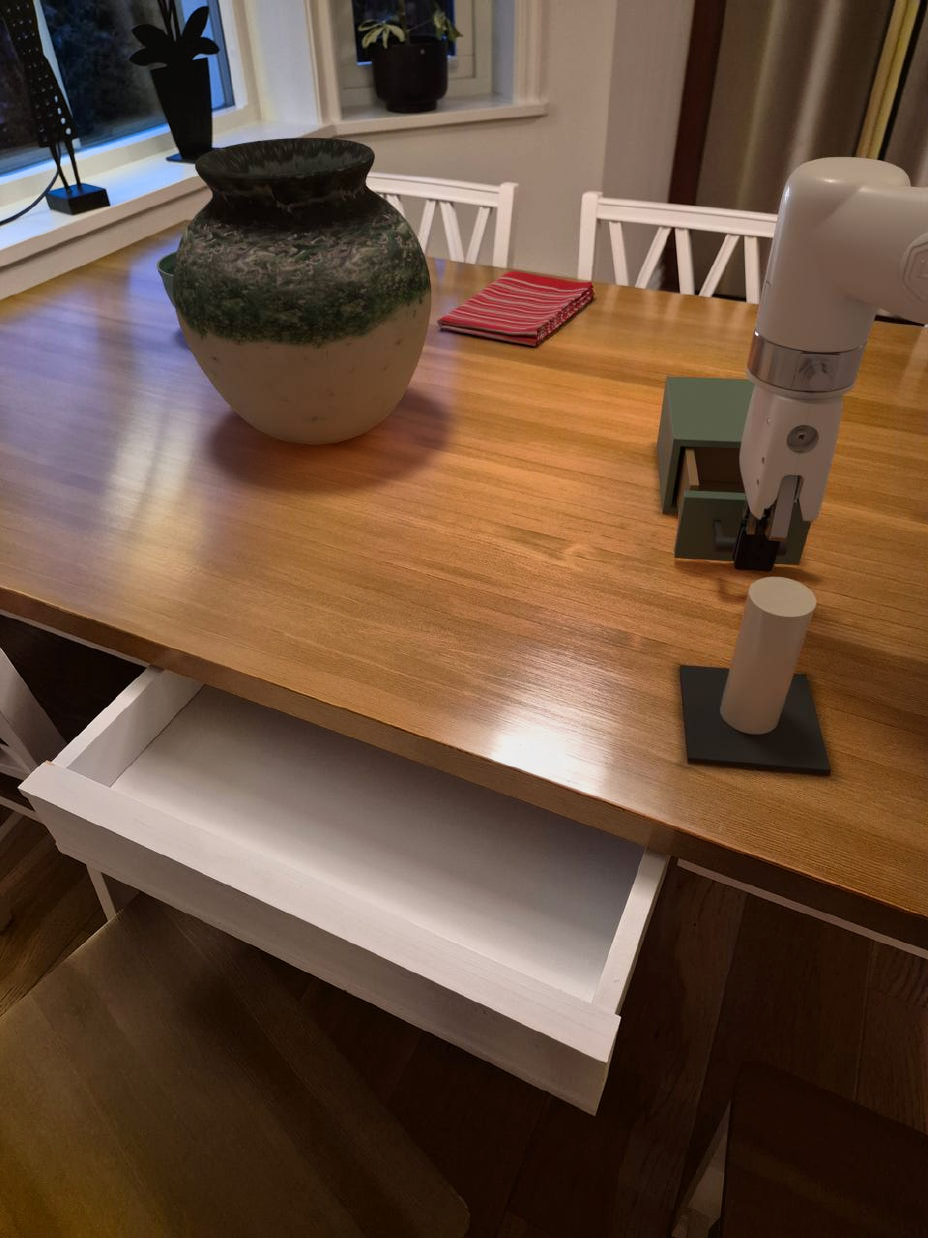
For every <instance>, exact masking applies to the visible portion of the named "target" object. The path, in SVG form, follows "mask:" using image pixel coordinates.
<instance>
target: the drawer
mask: <svg viewBox="0 0 928 1238" xmlns="http://www.w3.org/2000/svg"><path fill="white" fill-rule="evenodd" d="M739 459H740V449H736V448H712V447H689V446H681V448H680V454H679V461H678V467H677V473H676V479H675V492H676V501H677V510H678V514H677V519H678V524H677V529H676V536H675V541H674V548H673V557H674V559H683V560H700V561H701V560H702V561H717V562H718V561H719V562H732V563H733V562H734V561H733V559H732V553H733V549H734V545H735V540H736V536H737V532H738V527H739V523H740V520H748V519H743V515H742V514H743V506H744V501H745V496H746V492H745V488H744V484H743V479H742V475H741V470H740V460H739ZM811 525H812V522H808V521H803V519H802V516H801V513H800V509H799V506H798V503H797V500H796V499H795V501H794V504H793V508H792V513H791V518H790V523H789V529H788V534H787V538H786V541H781V542H780V546H779V549H778V553H777V557H776V560H775V564H774V565H787V566H800V562H801V559H802V556H803V552H804V550H805V549H804V548H805V546H806V541H807V538H808V535H809V531H810V529H811Z"/></svg>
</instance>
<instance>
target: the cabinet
mask: <svg viewBox="0 0 928 1238" xmlns="http://www.w3.org/2000/svg"><path fill="white" fill-rule="evenodd" d="M754 386H755V385H754V384H753V383H752V382H751V381H750V380H749V379H748V378H731V377H729V378H725V377H724V378H723V377H698V376H697V377H695V376H669V375H668V376H666V377H665V384H664V390H663V398H662V405H661V411H660V419H659V426H658V432H657V433H658V434H657V441H656V452H657V465H658V476H659V487H660V488H659V491H660V501H661V513H662V514H669V515H670V514H671V515H673V514H674V515H678V510H677V501H676V492H675V479H676V473H677V467H678V461H679V454H680V448H681V446H689V447H712V448H736V449H740V448H741V442H742V436H743V431H744V427H745V422H746V418H747V413H748V409H749V405H750V401H751V397H752V393H753V390H754Z"/></svg>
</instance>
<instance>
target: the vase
mask: <svg viewBox="0 0 928 1238" xmlns="http://www.w3.org/2000/svg"><path fill="white" fill-rule="evenodd" d="M375 160H376V155H375V152H374V150H373V148H371V147H370V146H368V145H366V144H364V143H361V142H357V141H353V140H347V139H341V138H328V137H287V138H285V137H284V138H272V139H263V140H255V141H246V142H241V143H236V144H230V145H227V146H223V147H219V148H216V149H213V150H210V151H208V152H206V153H204V154H202V155H200V156H199V157H198V159H197V158H196V160H195V163H194V169H195V171H196V173H197V175H198V176H199V177H200V178H201V179H202V181H203V182H204V183H205V184H206V185H207V187H208V188H209V190H210V191H211V198H210V200H209V201H208V202H207V203H206V204H205V205H204V206H203V207H202V208H201V209H200V210H199V211H198V212H197V213H196V214H195V216H194V217H193V218H192V219H191V220H190V222H189V223H188V225H187V226H186V228H185V230H184V232H183V234H182V236H181V238H180V240H179V242H178V246H177V249H176V251H177V253H176V257H175V262H174V271H173V298H174V305H175V307H174V310H175V314H176V318H177V321H178V324H179V327H180V330H181V333H182V335H183V338H184V340H185V342H186V344H187V346H188V348H189V350H190V351H191V354H192V355H193V357H194V359H195V360H196V362H197V364H198V365H199V368H200V369H201V370H202V372H203V373H204V375H205V376H206V378H207V380H209V382H210V383H211V385H212V386H213V387H214V389H215V390H216V391H217V392H218V394H219V395H220V396H221V398H223V400H224V401H225V402H226V403H227V405H229V407H230V408H231V409H232V410H233V411H234V412H235V413H236V414H237V415H238V416H239V417H240V418H242V419H243V420H244V421H245V422H246V423H248V424H249V425H251V426H252V427H253V428H254V429H256V430H258V431H259V432H261V433H264V434H265V435H267V436H270V437H272V438H274V439H277V440H280V441H284V442H287V443H292V444H296V445H297V444H298V445H307V446H320V445H331V444H336V443H342V442H344V441H349V440H351V439H353V438H356V437H358V436H362V435H363V434H365V433H367V432H368V431H371V430H372V429H373V428H375V427H377V426H378V425H379V424H380V423H382V422H383V421H384V420H385V419H386V418H387V417H388V416H389V415H390V414H391V413H392V412H393V410H395V408H396V407H397V405H398V404H399V403H400V401H401V400H402V398H403V396H404V395H405V393H406V391H407V389H408V387H409V385H410V383H411V381H412V378H413V376H414V374H415V373H416V372H415V371H416V369H417V367H418V364H419V361H420V360H421V359H420V358H421V356H422V353H423V350H424V346H425V343H426V339H427V336H428V331H429V327H430V320H431V314H432V281H431V275H430V270H429V265H428V262H427V258H426V256H425V253H424V250H423V248H422V245H421V243H420V241H419V238H418V237H417V235H416V233H415V231H414V229H413V228H412V226H411V225H410V223H409V222H408V220H407V219H406V218H405V217H404V215H403V214H402V213H401V211H399V210H398V208H397V207H395V206H394V205H392V203H390V201H388V200H387V199H385V198H383V197H382V196H381V195H380V194H378V193H376V192H375V191H374V190H372V189H370V188H369V186H368V185H367V178H368V175H369V174H370V171H371V169H372V167H373V165H374V163H375Z"/></svg>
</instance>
